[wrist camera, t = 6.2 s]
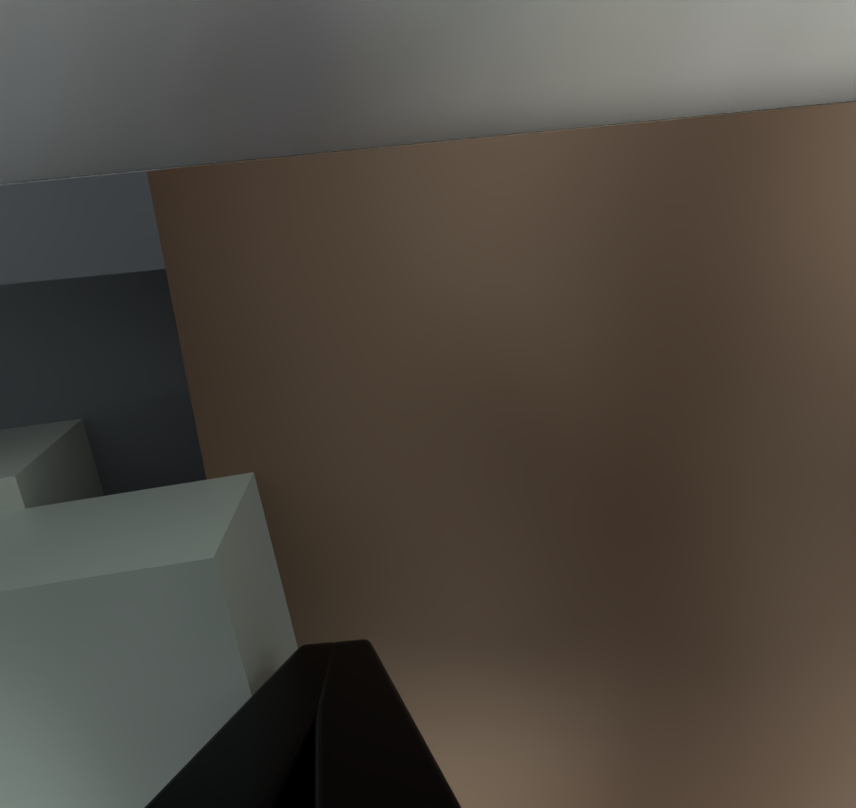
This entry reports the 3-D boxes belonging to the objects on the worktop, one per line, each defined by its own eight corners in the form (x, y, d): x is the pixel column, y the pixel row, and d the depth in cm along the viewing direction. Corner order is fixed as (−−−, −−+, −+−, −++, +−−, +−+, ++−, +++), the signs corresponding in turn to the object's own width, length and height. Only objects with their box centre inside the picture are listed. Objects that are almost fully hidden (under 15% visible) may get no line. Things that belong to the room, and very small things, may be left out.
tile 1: (253, 471, 9) (213, 558, 7) (331, 780, 11) (314, 919, 9) (-123, 531, 9) (-257, 631, 8) (3, 828, 11) (-84, 974, 9)
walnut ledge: (1120, 75, 10) (1328, 56, 8) (1000, 802, 14) (1117, 935, 12) (206, 163, 11) (146, 171, 8) (325, 862, 14) (308, 1006, 12)
